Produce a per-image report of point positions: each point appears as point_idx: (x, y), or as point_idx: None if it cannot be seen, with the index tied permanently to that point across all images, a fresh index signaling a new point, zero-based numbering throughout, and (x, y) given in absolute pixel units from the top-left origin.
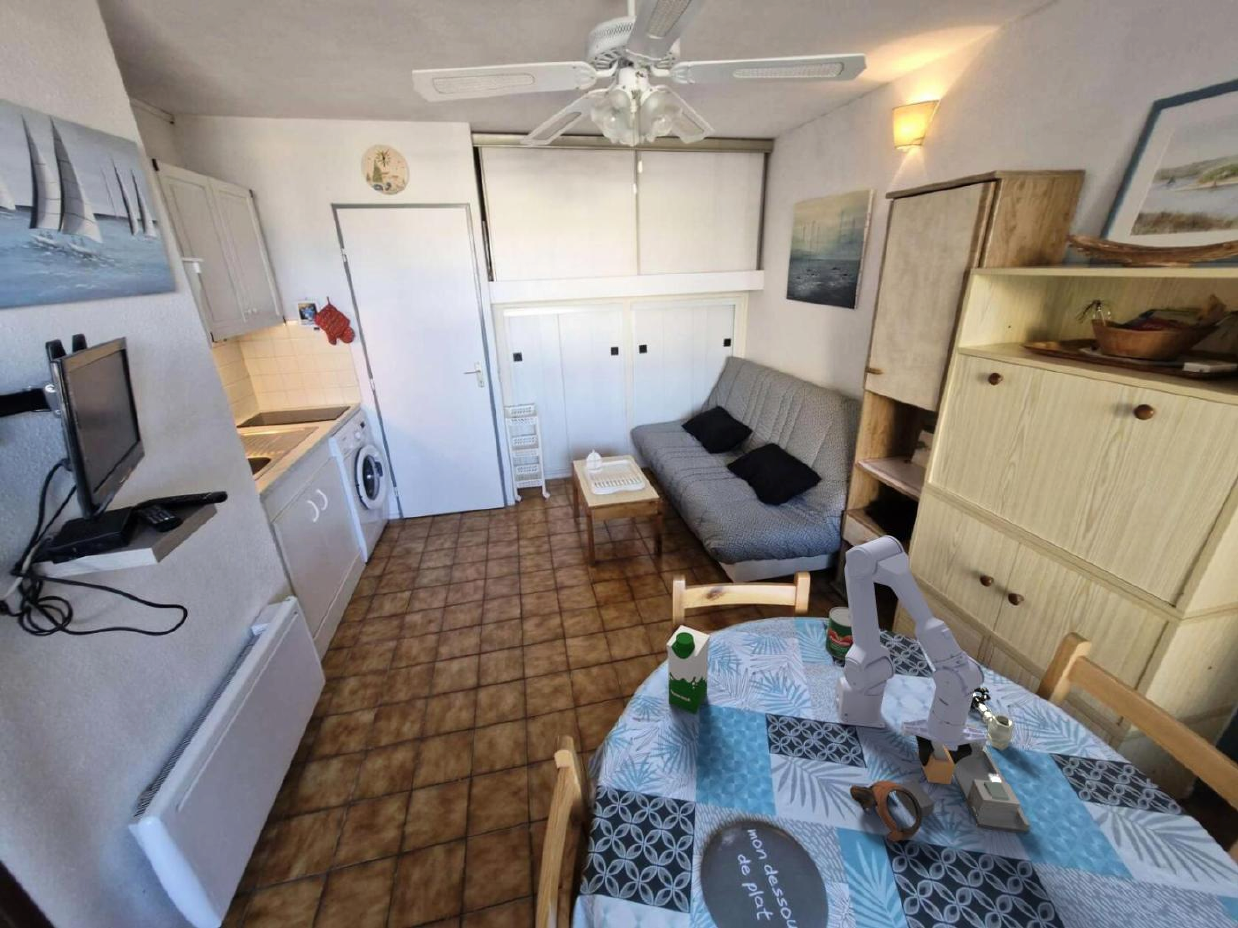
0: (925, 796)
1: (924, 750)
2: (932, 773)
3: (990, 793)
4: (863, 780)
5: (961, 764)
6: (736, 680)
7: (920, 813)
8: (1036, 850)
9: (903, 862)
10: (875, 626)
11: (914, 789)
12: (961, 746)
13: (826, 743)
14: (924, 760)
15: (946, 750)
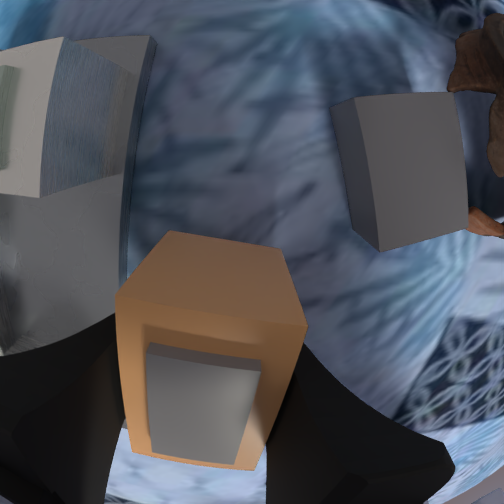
0: (385, 143)
1: (407, 437)
2: (278, 272)
3: (3, 86)
4: (485, 269)
5: (81, 320)
6: (494, 453)
7: (500, 37)
8: (29, 12)
9: (486, 9)
10: None
11: (414, 191)
12: (6, 457)
13: (481, 376)
14: (308, 352)
15: (133, 405)
